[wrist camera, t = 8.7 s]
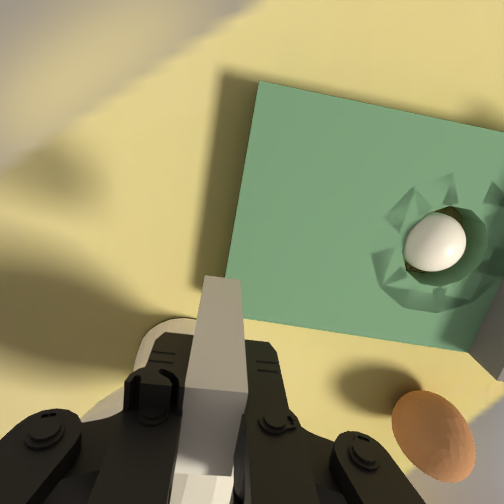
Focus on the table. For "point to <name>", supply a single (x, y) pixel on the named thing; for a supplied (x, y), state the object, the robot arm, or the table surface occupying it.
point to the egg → (434, 436)
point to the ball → (434, 242)
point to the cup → (184, 485)
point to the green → (368, 223)
